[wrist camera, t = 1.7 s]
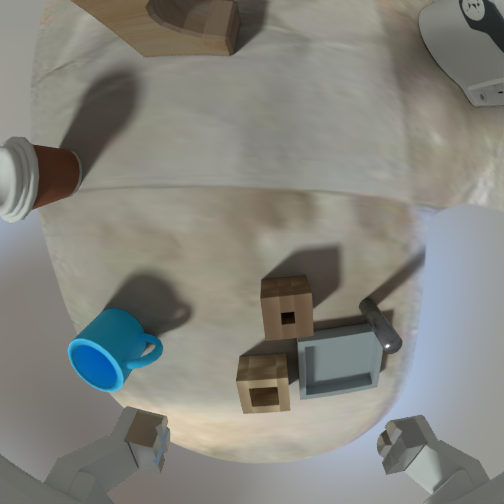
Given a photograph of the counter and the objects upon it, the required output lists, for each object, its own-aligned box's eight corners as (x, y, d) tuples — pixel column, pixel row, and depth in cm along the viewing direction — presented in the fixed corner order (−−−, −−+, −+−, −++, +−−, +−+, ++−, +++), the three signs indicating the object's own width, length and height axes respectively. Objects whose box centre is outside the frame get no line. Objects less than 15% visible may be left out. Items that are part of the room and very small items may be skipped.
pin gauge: (374, 297, 32) (403, 335, 23) (373, 311, 32) (400, 351, 24) (359, 299, 32) (385, 339, 23) (358, 313, 33) (383, 355, 24)
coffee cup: (37, 192, 30) (-25, 206, 19) (55, 131, 28) (-10, 127, 16) (78, 219, 31) (13, 241, 19) (100, 151, 29) (32, 149, 17)
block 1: (305, 274, 31) (311, 293, 27) (307, 313, 33) (313, 336, 28) (261, 279, 32) (260, 298, 27) (266, 318, 33) (265, 341, 28)
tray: (379, 320, 33) (385, 328, 31) (372, 377, 35) (376, 387, 33) (296, 332, 34) (297, 342, 31) (299, 389, 36) (300, 399, 34)
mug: (108, 355, 37) (83, 387, 29) (90, 308, 35) (58, 336, 27) (178, 358, 36) (161, 398, 28) (163, 306, 34) (139, 341, 26)
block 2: (285, 352, 34) (288, 377, 30) (288, 385, 36) (290, 410, 31) (239, 356, 35) (235, 381, 30) (245, 388, 37) (243, 413, 32)
